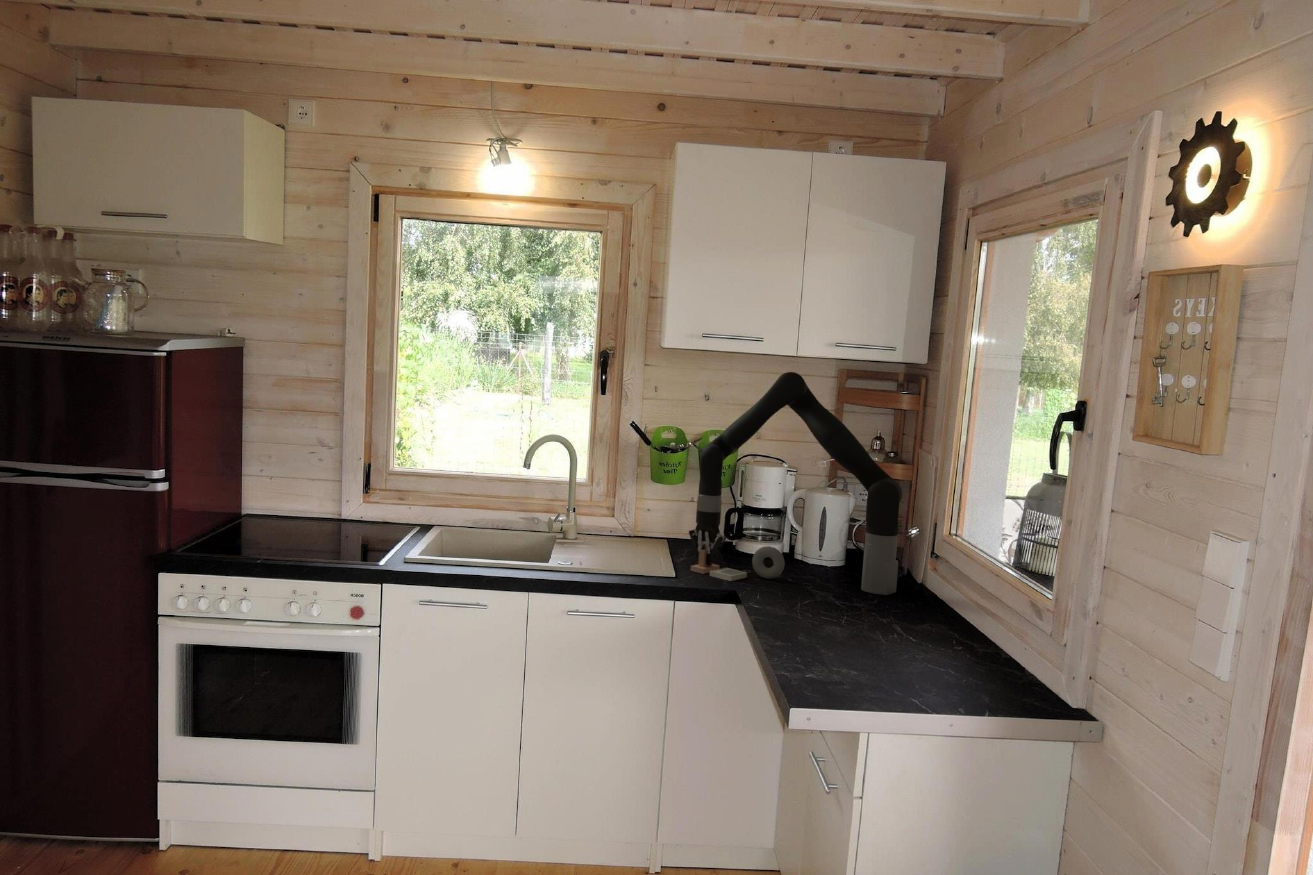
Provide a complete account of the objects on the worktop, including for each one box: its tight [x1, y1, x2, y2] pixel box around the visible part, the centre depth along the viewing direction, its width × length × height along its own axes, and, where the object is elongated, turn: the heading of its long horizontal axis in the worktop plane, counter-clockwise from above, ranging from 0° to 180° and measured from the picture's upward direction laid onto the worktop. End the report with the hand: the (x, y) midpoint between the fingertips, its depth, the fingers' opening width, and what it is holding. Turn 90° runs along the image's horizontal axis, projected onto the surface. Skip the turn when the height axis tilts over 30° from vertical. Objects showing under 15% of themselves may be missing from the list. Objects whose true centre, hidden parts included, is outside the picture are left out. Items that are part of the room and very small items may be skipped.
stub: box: [690, 548, 721, 575], centre depth 286 cm, size 5×8×6 cm, turn 138°
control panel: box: [709, 567, 748, 582], centre depth 280 cm, size 8×8×2 cm
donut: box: [751, 545, 786, 580], centre depth 280 cm, size 10×4×10 cm, turn 67°
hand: (705, 564), depth 286 cm, fingers closed on stub, 2 cm apart
